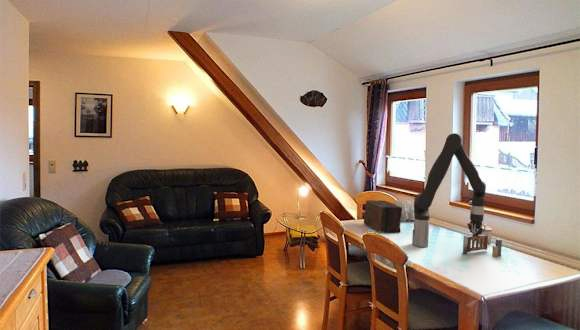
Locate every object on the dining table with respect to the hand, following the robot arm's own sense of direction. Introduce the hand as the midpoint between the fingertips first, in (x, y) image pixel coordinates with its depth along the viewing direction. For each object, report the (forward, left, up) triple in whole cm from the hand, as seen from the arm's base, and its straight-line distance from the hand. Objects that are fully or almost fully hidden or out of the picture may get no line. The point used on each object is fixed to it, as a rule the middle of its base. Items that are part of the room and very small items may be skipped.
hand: (474, 240), depth 257 cm
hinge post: (-9, -8, -6) cm, 14 cm away
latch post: (+9, -9, -6) cm, 15 cm away
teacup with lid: (+15, +24, -7) cm, 29 cm away
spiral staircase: (-21, +82, -7) cm, 85 cm away
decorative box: (-47, +51, -7) cm, 70 cm away
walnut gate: (0, -4, -5) cm, 7 cm away
